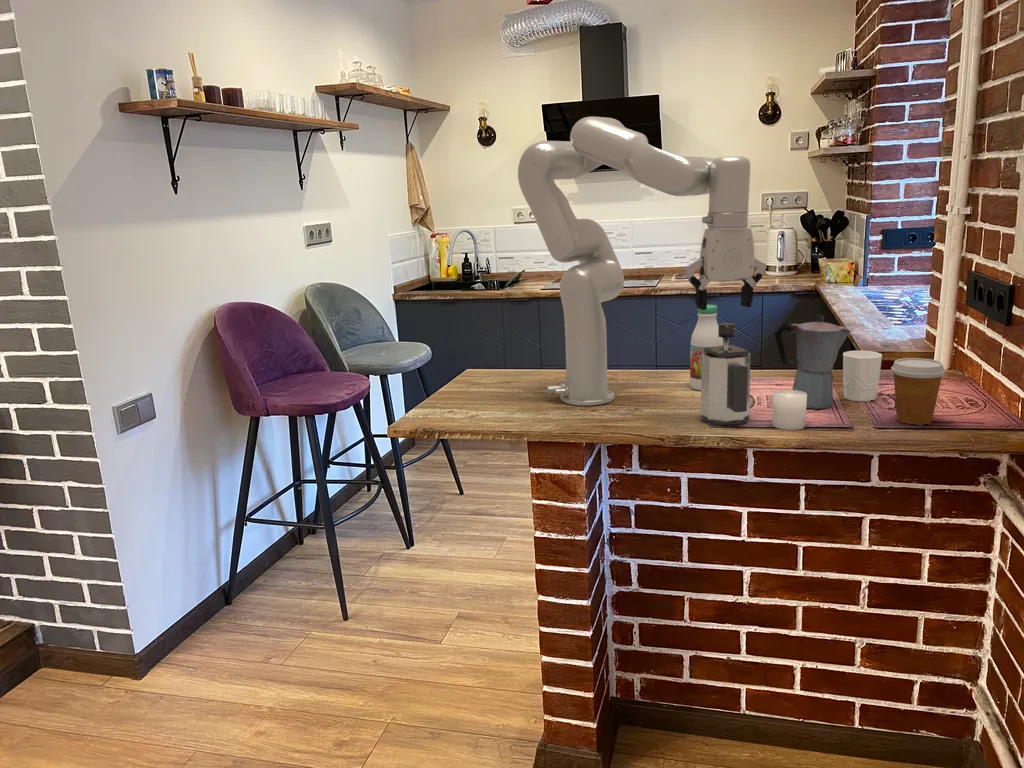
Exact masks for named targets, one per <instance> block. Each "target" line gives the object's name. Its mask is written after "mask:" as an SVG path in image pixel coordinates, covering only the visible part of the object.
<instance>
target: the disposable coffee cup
mask: <svg viewBox="0 0 1024 768" xmlns="http://www.w3.org/2000/svg"><path fill="white" fill-rule="evenodd" d="M890 369H891V370H892V373H893V382H894V383H893V384H894V399H895V412H896V413H895V414H896V421H897V420H898V421H897V422H899V421H900V422H899V423H901V422H903V423H902V424H904V423H908V424H907V425H909V424H928V425H931V424H932V422H933V419H934V413H935V408H936V404H937V400H938V395H939V390H940V387H941V384H942V383H941V382H942V378H943V376H944V374H945V373H946V368H944V363H943V362H942V361H939V360H937V359H936V360H935V359H930V358H922V357H921V358H920V357H919V358H918V357H909V358H908V357H907V358H905V357H904V358H899V359H896V360H894V362H893V365H892V366H891V367H890Z"/></svg>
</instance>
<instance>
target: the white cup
mask: <svg viewBox="0 0 1024 768" xmlns="http://www.w3.org/2000/svg"><path fill="white" fill-rule="evenodd" d="M882 359H883V354H882V353H879V352H876V351H872V350H871V351H870V350H849V351H844V352H843V353H842V385H843V398H844V399H846V400H849V401H854V402H872V401H871V400H873V401H876V400H877V394H878V388H879V383H880V376H881V368H882Z"/></svg>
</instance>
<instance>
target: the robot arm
mask: <svg viewBox="0 0 1024 768" xmlns="http://www.w3.org/2000/svg"><path fill="white" fill-rule="evenodd" d="M569 140H570V141H569ZM569 140H568V141H567V140H566V141H563V140H541V141H538V142H535V143H532V144H531V145H529V146H528V147H527V148H526V149H525V150H524V152H523V153H522V155H521V157H520V160H519V162H518V169H517V180H518V184H519V187H520V190H521V194H522V196H523V198H524V199H525V201H526V203H527V205H528V207H529V209H530V211H531V213H532V216H533V217H534V219H535V222H536V224H537V227H538V228H539V232H540V233H541V236H542V238H543V240H544V243H545V245H546V247H547V249H548V252H549V254H550V255H551V257H552V259H553V260H555V261H557V262H558V263H573V262H578V263H579V264H576V265H573V266H571V267H570V268H568V269H567V270H565V272H564V273H563V275H562V276H561V278H560V282H559V294H560V296H559V297H560V300H561V304H562V309H563V317H564V334H565V335H564V336H565V337H564V339H565V340H564V341H565V369H566V370H565V371H566V372H565V373H566V379H562V382H560V383H559V384H558V385H555V384H552V385H551V384H550V385H547V386H546V393H547V394H548V395H549V394H555V396H556V395H560V401H562V402H563V403H565V404H568V405H573V406H585V407H586V406H588V407H589V406H598V405H604V404H608V403H611V402H613V400H614V399H615V393H614V392H613V391H611V390H609V389H608V350H607V349H608V346H607V345H608V344H607V342H608V341H607V339H608V338H607V321H606V320H607V319H606V316H605V313H604V310H603V307H602V303H604V302H608V301H611V300H614V299H616V298H617V297H618V296H619V295H620V294H621V293H622V292H623V289H624V286H625V278H624V277H625V276H624V272H623V268H622V266H621V264H620V262H619V260H618V258H617V254H616V253H615V251H614V248H613V246H612V244H611V241H610V239H609V237H608V234H607V233H606V231H605V229H604V228H603V227H602V226H601V225H600V224H599V223H598V222H597V221H595V220H593V219H590V218H577V217H576V215H575V214H574V213H575V212H574V211H573V209H572V208H571V205H570V202H569V199H567V197H566V195H565V194H564V192H563V191H562V190H561V189H560V188H559V187H558V185H557V184H556V183H555V180H574V179H576V178H580V177H582V176H584V175H586V174H588V173H590V172H592V171H593V170H596V169H597V168H599V167H601V166H602V165H605V166H608V167H610V168H613V169H615V170H617V171H620V172H622V173H624V174H626V175H628V177H630V178H632V179H634V180H635V181H637V182H638V183H640V184H642V185H644V186H647V187H649V188H651V189H654V190H656V191H659V192H662V193H665V194H666V195H669V196H673V197H688V196H692V197H693V196H694V197H695V196H702V195H703V196H704V195H708V212H707V215H706V216H702V218H701V223H702V224H706V226H707V228H705V229H704V232H703V236H702V241H701V246H700V251H699V252H700V253H699V258H698V259H696V260H695V261H693V262H692V263H690V264H689V265H687V266H685V267H684V268H683V271H684V274H685V277H687V280H688V282H689V283H690V284H691V285H692V286H693V288H694V289H695V305H696V309H697V308H699V309H701V310H706V309H707V305H708V290H707V289H706V288H707V286H708V285H709V284H710V282H711V281H714V282H715V281H716V282H717V281H719V282H721V281H739V280H740V281H741V282H742V284H743V285H741V291H740V292H741V294H740V305H741V306H742V307H746V308H751V307H752V303H753V301H754V300H753V298H754V288H755V287H756V286H757V284H758V282H760V280H761V279H763V275H764V274H765V271H766V269H767V267H768V266H767V264H766V263H764V262H762V261H760V260H758V259H756V258H755V247H754V237H753V236H754V235H753V231H752V228H750V227H748V221H749V218H748V217H749V202H750V201H749V200H750V183H751V161H750V159H748V158H747V157H745V156H721V157H716V158H713V157H707V156H706V157H705V156H681V155H677V154H675V153H671V152H669V151H666V150H663V149H661V148H658V147H655V146H653V145H651V144H649V139H648V137H647V136H646V135H645V134H644V133H641V132H639V131H635V130H633V129H629V128H628V127H625V126H624V124H622V122H621V121H620V120H618V119H615V118H612V117H605V116H602V117H601V116H586V117H582V118H580V119H579V120H578V121H577V122H575V124H574V125H573V126H572V128H571V131H570V135H569ZM696 270H698V274H699V277H698V278H697V277H696V274H695V271H696Z"/></svg>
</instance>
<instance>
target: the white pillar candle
mask: <svg viewBox="0 0 1024 768" xmlns="http://www.w3.org/2000/svg"><path fill="white" fill-rule="evenodd" d="M772 394H773V395H772V418H771V419H772V420H771V421H772V422H771V425H772V427H774V428H777V429H780V430H785V431H786V430H788V431H792V430H793V431H795V430H796V431H797V430H802V429H804V427H805V426H806V425H807V408H806V406H807V393H805V392H803V391H798V390H792V389H779V390H778V389H777V390H775V391H773V393H772ZM805 428H806V427H805Z"/></svg>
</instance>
